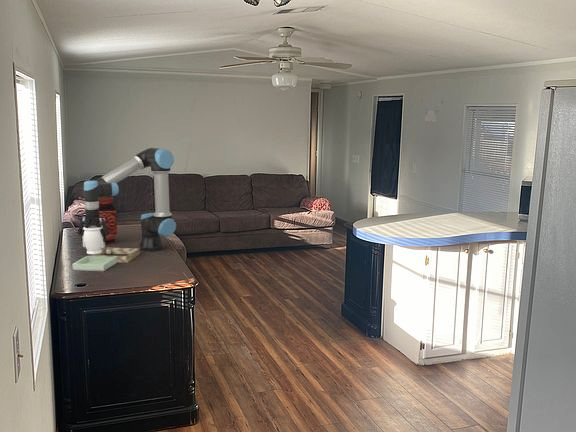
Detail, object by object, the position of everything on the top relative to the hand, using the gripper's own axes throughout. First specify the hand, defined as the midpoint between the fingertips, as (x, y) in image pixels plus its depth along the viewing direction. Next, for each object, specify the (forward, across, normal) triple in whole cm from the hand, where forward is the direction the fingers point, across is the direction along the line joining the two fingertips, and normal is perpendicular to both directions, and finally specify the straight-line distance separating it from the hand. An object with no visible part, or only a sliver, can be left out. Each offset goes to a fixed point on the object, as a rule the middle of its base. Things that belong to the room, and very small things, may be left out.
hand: (94, 247), depth 324 cm
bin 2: (+11, -4, -20) cm, 23 cm away
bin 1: (+11, 0, 0) cm, 11 cm away
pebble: (+11, +4, -27) cm, 29 cm away
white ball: (+11, -12, -27) cm, 31 cm away
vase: (+11, +18, -56) cm, 60 cm away
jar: (+4, 0, 0) cm, 4 cm away
